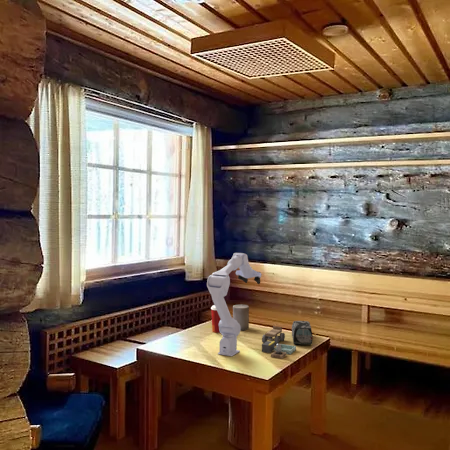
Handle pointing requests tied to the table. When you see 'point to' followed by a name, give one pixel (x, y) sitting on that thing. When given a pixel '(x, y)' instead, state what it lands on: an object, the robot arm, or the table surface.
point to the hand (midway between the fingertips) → (253, 282)
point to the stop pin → (278, 349)
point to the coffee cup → (215, 320)
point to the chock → (268, 346)
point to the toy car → (302, 332)
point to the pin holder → (278, 355)
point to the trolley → (274, 335)
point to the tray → (287, 349)
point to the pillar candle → (241, 315)
